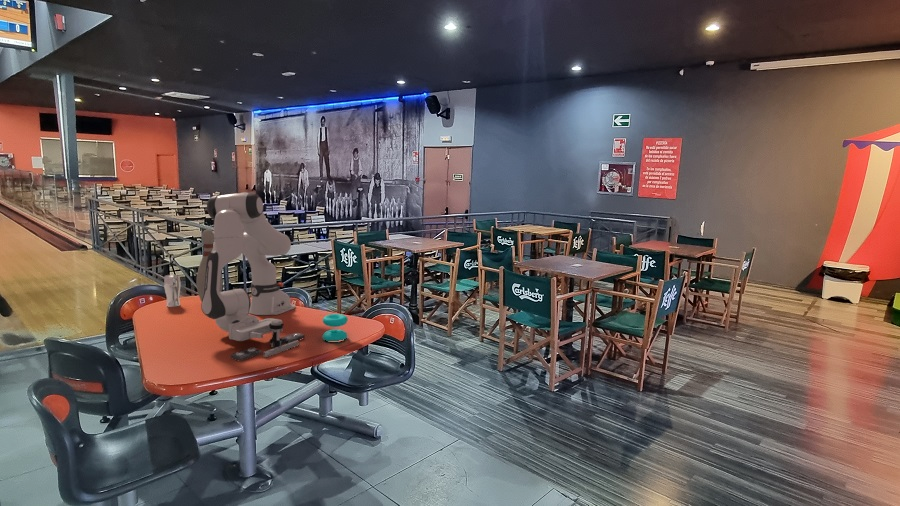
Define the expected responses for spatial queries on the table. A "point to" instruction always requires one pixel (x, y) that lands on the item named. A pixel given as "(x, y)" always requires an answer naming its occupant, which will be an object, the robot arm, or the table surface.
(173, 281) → the beer glass
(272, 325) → the push button
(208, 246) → the bowling pin
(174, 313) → the table surface
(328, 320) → the donuts
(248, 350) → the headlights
